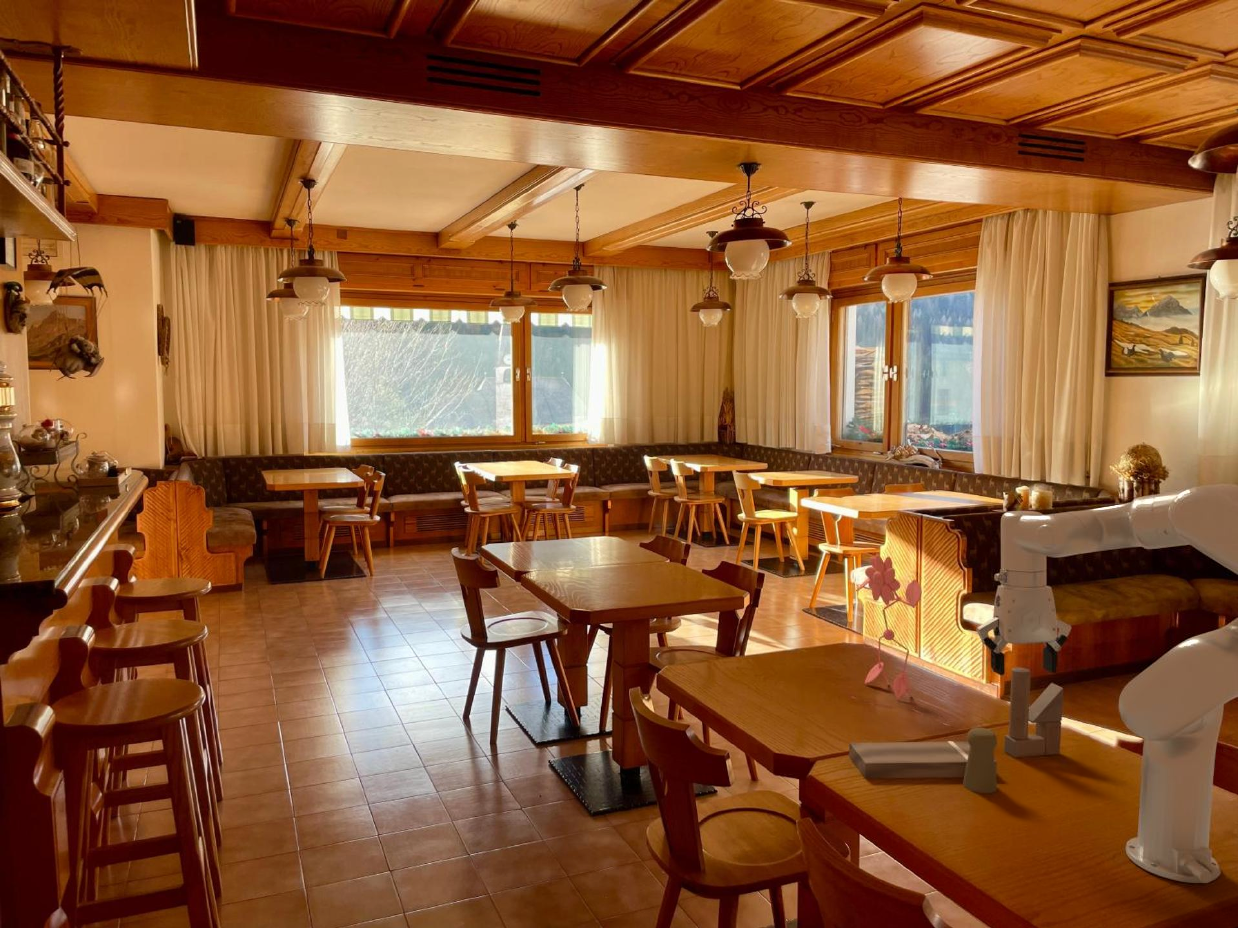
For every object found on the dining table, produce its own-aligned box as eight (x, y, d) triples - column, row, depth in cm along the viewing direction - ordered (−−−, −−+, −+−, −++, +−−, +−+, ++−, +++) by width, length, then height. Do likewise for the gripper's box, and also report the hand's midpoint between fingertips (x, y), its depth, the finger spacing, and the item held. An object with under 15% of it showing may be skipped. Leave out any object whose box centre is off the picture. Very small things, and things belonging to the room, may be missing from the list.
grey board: (996, 776, 172) (996, 761, 172) (865, 778, 170) (865, 762, 170) (973, 755, 182) (973, 740, 182) (849, 756, 180) (849, 742, 180)
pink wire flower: (872, 674, 234) (874, 544, 231) (936, 707, 210) (939, 562, 206) (821, 680, 229) (823, 548, 226) (881, 715, 205) (884, 567, 202)
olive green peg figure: (961, 788, 166) (963, 732, 165) (964, 776, 172) (967, 721, 171) (996, 795, 164) (998, 738, 163) (998, 783, 169) (1000, 727, 168)
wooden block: (1060, 754, 183) (1064, 669, 181) (1014, 758, 181) (1018, 672, 179) (1048, 747, 186) (1052, 664, 185) (1003, 751, 184) (1007, 667, 183)
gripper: (987, 584, 156) (988, 679, 157) (1081, 580, 157) (1081, 675, 158) (967, 577, 164) (968, 668, 164) (1057, 574, 165) (1058, 665, 165)
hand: (1024, 672), depth 161 cm, fingers open, 9 cm apart
